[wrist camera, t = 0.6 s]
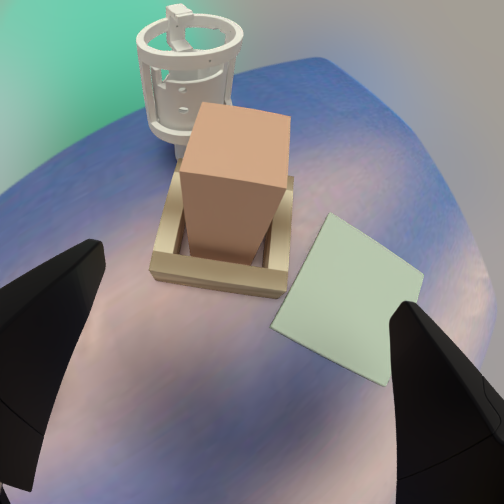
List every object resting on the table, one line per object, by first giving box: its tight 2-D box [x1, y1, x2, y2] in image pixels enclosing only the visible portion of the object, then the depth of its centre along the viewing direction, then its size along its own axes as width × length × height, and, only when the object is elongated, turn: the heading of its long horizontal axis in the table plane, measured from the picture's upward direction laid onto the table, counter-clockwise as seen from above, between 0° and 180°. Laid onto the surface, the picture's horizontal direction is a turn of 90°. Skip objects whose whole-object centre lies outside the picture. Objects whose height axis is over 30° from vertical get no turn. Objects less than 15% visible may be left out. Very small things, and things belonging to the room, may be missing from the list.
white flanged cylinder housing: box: [136, 4, 243, 161], centre depth 20 cm, size 7×7×15 cm
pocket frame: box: [149, 158, 294, 299], centre depth 24 cm, size 10×10×3 cm
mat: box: [269, 213, 424, 387], centre depth 24 cm, size 12×12×1 cm
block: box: [179, 102, 291, 266], centre depth 19 cm, size 5×5×12 cm
